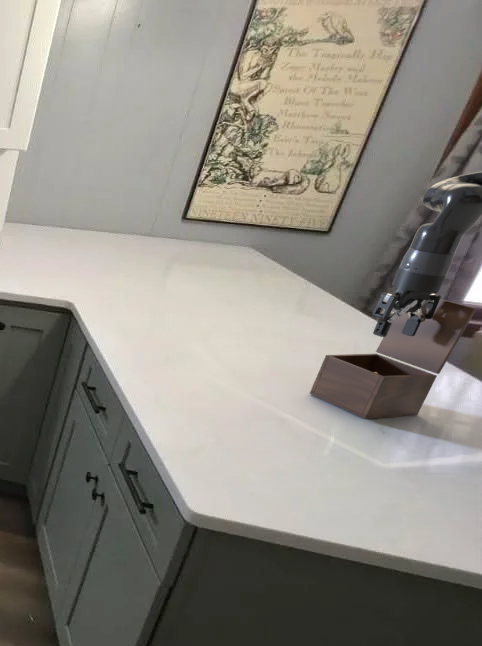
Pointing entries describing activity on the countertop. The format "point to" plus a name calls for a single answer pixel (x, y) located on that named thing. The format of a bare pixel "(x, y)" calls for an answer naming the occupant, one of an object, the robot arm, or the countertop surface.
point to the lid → (428, 337)
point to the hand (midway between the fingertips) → (393, 335)
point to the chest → (372, 385)
